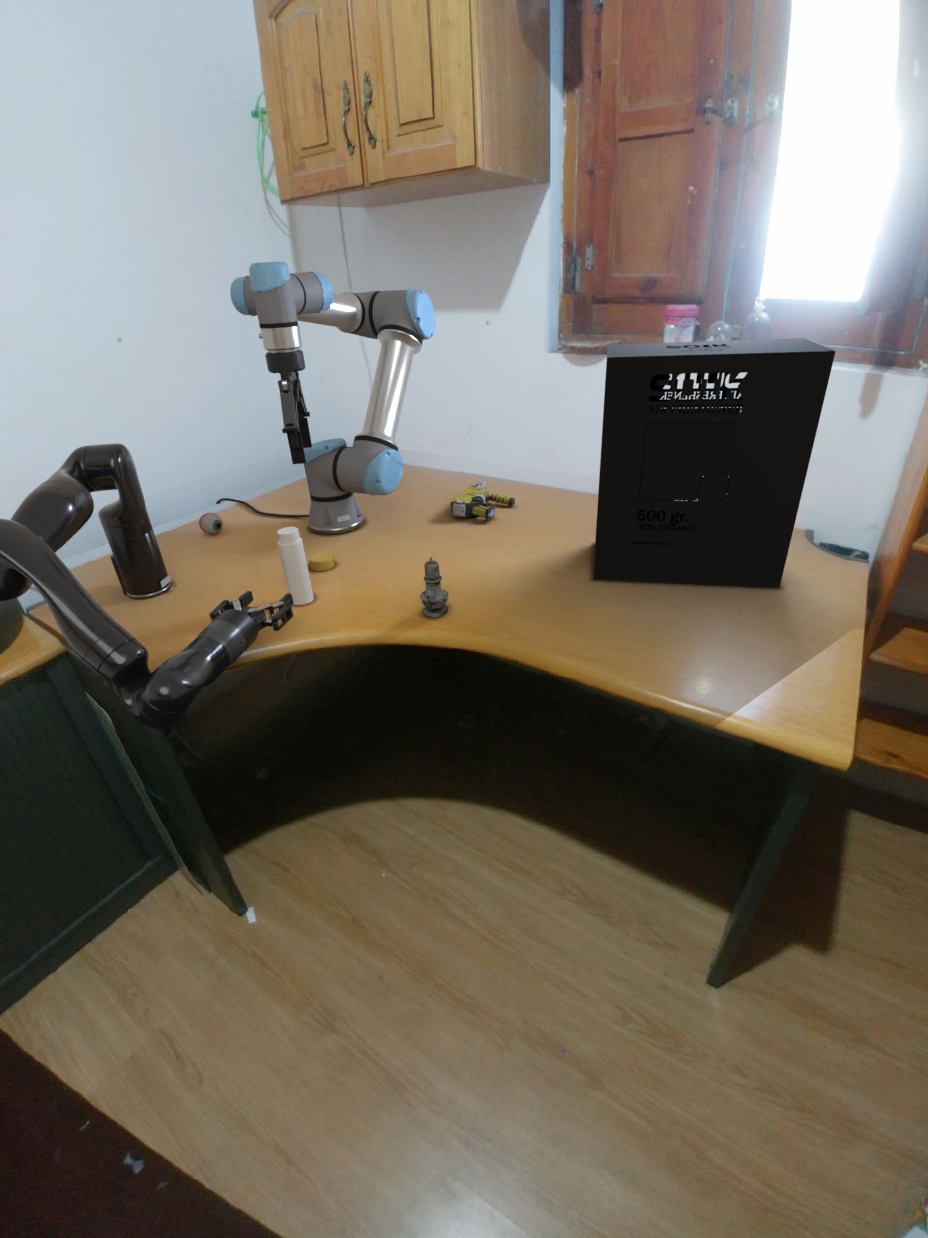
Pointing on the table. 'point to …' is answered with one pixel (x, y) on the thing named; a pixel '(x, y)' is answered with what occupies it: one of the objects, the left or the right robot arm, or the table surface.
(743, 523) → the cardboard box
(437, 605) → the dark grey tall piece
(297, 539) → the jar
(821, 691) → the table surface
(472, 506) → the toy gun
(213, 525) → the eyeball
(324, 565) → the lid
